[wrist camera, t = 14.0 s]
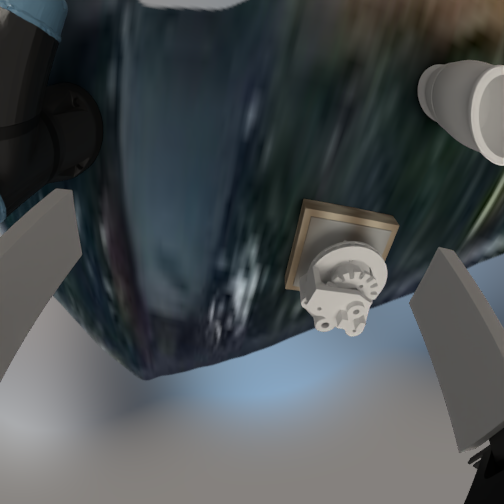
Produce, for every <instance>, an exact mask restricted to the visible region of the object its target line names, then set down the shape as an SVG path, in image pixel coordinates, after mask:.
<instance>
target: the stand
mask: <svg viewBox="0 0 504 504" xmlns="http://www.w3.org/2000/svg"><path fill="white" fill-rule="evenodd" d="M398 228H399V225H398V223H397V222H396V220H395V218H394V217H393V216H391V215H387V214H382V213H377V212H372V211H367V210H362V209H357V208H352V207H347V206H342V205H336V204H331V203H325V202H320V201H314V200H308V199H303V204H302V208H301V212H300V216H299V221H298V225H297V229H296V233H295V237H294V242H293V246H292V250H291V254H290V258H289V262H288V266H287V270H286V274H285V289H291V290H299V291H300V286H299V281H300V277H302V276H303V275H305V274H306V273H307V272H308V269H309V266H310V264H311V263H312V261H313V259H314V258H315V257H316V256H317V255H318V254H319V253H320V252H322V251H323V250H324V249H326V248H328V247H330V246H332V245H334V244H337V243H340V242H343V241H344V240H346V241H358V242H363V243H366V244H368V245H371V246H372V247H374V248H375V249H377V251H378V252H379V253H380V254H381V256H382V258H383V260H384V262H385V259H386V257H387V255H388V252H389V250H390V247H391V245H392V243H393V240H394V238H395V235H396V233H397V230H398Z"/></svg>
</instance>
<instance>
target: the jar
mask: <svg viewBox="0 0 504 504" xmlns="http://www.w3.org/2000/svg"><path fill="white" fill-rule="evenodd" d="M418 99H419V103H420V105H421V107H422V109H423V111H424V112H425V113H426V115H427V116H428V117H430V118H431V119H432V120H434V121H436V122H437V123H438V124H439V125H440V126H441V127H442V128H443V129H445V130H446V131H447V132H448V133H449V134H450V135H451V136H452V137H453V138H455V139H456V140H457V141H459V142H460V143H462V144H463V145H465V146H467V147H469V148H471V149H473V150H476V151H478V152H480V153H481V154H482V155H483V156H484V157H485V158H487V159H488V160H489V161H491V162H492V163H494V164H497V165H501V166H504V65H495V66H494V65H491V64H488V63H485V62H481V61H474V60H463V61H458V62H452V63H447V64H444V65H443V64H437V65H433V66H431V67H429V68H428V69H426V70H425V71H424V73H423V74H422V75H421V77H420V80H419V83H418Z"/></svg>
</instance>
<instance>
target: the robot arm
mask: <svg viewBox="0 0 504 504" xmlns="http://www.w3.org/2000/svg"><path fill="white" fill-rule="evenodd" d="M67 13H68V5H67V3H66V1H65V0H0V223H1V222H3V221H4V220H5V219H6V217H8V216H9V215H10V214H11V213H12V212H13V211H14V210H15V209H17V208H18V207H19V206H20V205H21V204H22V203H24V202H25V201H26V200H27V199H28V198H30V197H31V196H32V195H33V194H35V193H36V192H37V191H38V190H39V189H41V188H42V187H43V186H44V185H46V184H47V183H52V182H58V181H63V180H68V179H71V178H74V177H76V176H77V175H79V174H80V173H82V172H83V171H84V170H86V169H87V168H88V167H89V166H90V165H91V164H92V163H93V162H94V160H95V159H96V157H97V155H98V153H99V150H100V147H101V143H102V137H103V125H102V118H101V114H100V111H99V109H98V106H97V104H96V102H95V101H94V99H93V98H92V97H91V95H90V94H89V93H88V92H87V91H86V90H84V89H83V88H82V87H80V86H78V85H75V84H72V83H58V84H54V85H50V86H47V82H48V78H49V75H50V71H51V67H52V64H53V60H54V57H55V54H56V50H57V47H58V44H59V43H60V42H61V33H62V29H63V26H64V23H65V19H66V16H67ZM46 86H47V87H46ZM81 256H82V250H81V245H80V239H79V234H78V228H77V222H76V215H75V208H74V201H73V193H72V190H66V189H55V190H53V191H52V192H51V193H50V194H48V195H47V196H46V197H45V198H44V199H42V200H41V201H40V202H39V203H38V204H36V205H35V206H34V207H33V208H32V209H31V210H29V211H28V212H27V213H26V214H25V215H24V216H23V217H22V218H20V219H19V220H18V221H17V222H16V223H15V224H14V225H13V226H12V227H11V228H10V229H8V230H7V231H6V232H5V233H4V234H3V235H2V236H1V237H0V382H1V380H2V378H3V376H4V374H5V372H6V371H7V369H8V367H9V365H10V363H11V361H12V360H13V358H14V356H15V354H16V352H17V351H18V349H19V347H20V346H21V344H22V342H23V341H24V339H25V337H26V336H27V334H28V332H29V331H30V329H31V328H32V326H33V324H34V323H35V321H36V320H37V318H38V317H39V315H40V313H41V312H42V310H43V309H44V307H45V306H46V304H47V303H48V301H49V300H50V298H51V297H52V296H53V294H54V293H55V291H56V290H57V288H58V287H59V285H60V284H61V283H62V281H63V280H64V278H65V277H66V276H67V274H68V273H69V272H70V270H71V269H72V267H73V266H74V265H75V263H76V262H77V261H78V259H79V258H80V257H81ZM409 304H410V307H411V309H412V311H413V314H414V316H415V319H416V321H417V324H418V326H419V329H420V331H421V334H422V336H423V339H424V341H425V344H426V347H427V349H428V352H429V355H430V357H431V360H432V363H433V366H434V369H435V371H436V374H437V377H438V380H439V384H440V387H441V389H442V392H443V396H444V399H445V402H446V406H447V409H448V412H449V416H450V419H451V423H452V427H453V430H454V434H455V438H456V442H457V446H458V450H459V453H462V452H465V451H469V450H472V449H476V448H477V447H478V446H480V445H481V444H483V443H484V442H486V441H487V440H488V439H489V441H490V445H489V446H488V447H486V448H485V449H483V450H482V451H480V452H479V453H477V454H476V455H474V456H473V457H471V458H470V460H469V462H468V464H471V463H473V462H474V461H476V460H477V459H479V458H481V460H480V461H478V462H476V463H475V464H474V465H473V467H475V468H477V472H476V475H475V478H474V481H473V483H472V486H471V488H470V491H469V493H468V496H467V498H466V500H465V503H464V504H504V329H503V327H502V325H501V323H500V322H499V320H498V318H497V317H496V315H495V313H494V312H493V310H492V308H491V306H490V305H489V303H488V301H487V300H486V298H485V297H484V295H483V293H482V292H481V290H480V289H479V287H478V286H477V284H476V283H475V281H474V280H473V278H472V277H471V275H470V274H469V272H468V271H467V269H466V268H465V266H464V265H463V263H462V262H461V261H460V259H459V258H458V256H457V255H456V254H455V252H454V251H453V250H449V249H445V248H440V247H438V249H437V251H436V253H435V255H434V257H433V259H432V261H431V263H430V265H429V267H428V269H427V271H426V273H425V275H424V277H423V279H422V280H421V282H420V284H419V286H418V288H417V289H416V291H415V293H414V295H413V297H412V298H411V300H410V302H409Z"/></svg>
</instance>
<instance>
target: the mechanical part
mask: <svg viewBox="0 0 504 504" xmlns="http://www.w3.org/2000/svg"><path fill="white" fill-rule="evenodd" d="M386 279H387V268H386V264H385V262H384V260H383V258H382V256H381V254H380V253H379V252H378V251H377V249H375V248H374V247H372V246H371V245H368V244H366V243H363V242H358V241H346V240H344V241H343V242H340V243H337V244H334V245H332V246H330V247H328V248H326V249H324V250H323V251H322V252H320V253H319V254H318V255H317V256H316V257H315V258H314V259H313V261H312V263H311V264H310V266H309V269H308V272H307V273H306V274H305V275H303V276H302V277H300V281H299V286H300V297H301V304H302V307H304V308H305V309H306V310H307V311H308V312H309V313H310V314H311V316H312V317H313V318H314V324H315V328H316V329H317V330H318V331H322V332H325V331H329V330H331V329H333V328H334V327H337V328H342V329H344V330H345V332H346V334H347V335H349V336H357V335H359V334H360V333H362V331H363V330H364V326H365V325H366V319H367V315H368V312H369V308H370V305H371V304H372V300H373V299H376V297H377V296H378V295H379V293H380V292H381V291H382V289H383V287H384V285H385V283H386Z"/></svg>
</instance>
